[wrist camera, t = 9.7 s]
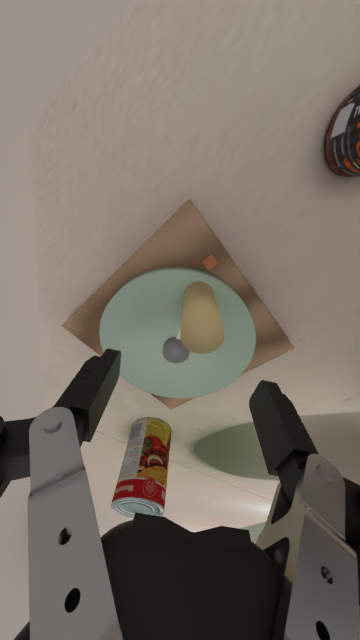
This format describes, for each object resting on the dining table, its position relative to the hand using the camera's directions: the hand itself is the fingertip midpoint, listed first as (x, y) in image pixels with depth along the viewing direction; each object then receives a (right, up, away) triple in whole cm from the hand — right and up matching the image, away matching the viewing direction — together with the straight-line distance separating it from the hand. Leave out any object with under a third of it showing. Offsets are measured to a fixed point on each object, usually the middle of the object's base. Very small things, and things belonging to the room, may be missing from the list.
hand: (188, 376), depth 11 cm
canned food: (-6, -19, +28) cm, 34 cm away
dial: (-1, +1, +13) cm, 14 cm away
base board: (-1, +2, +15) cm, 15 cm away
